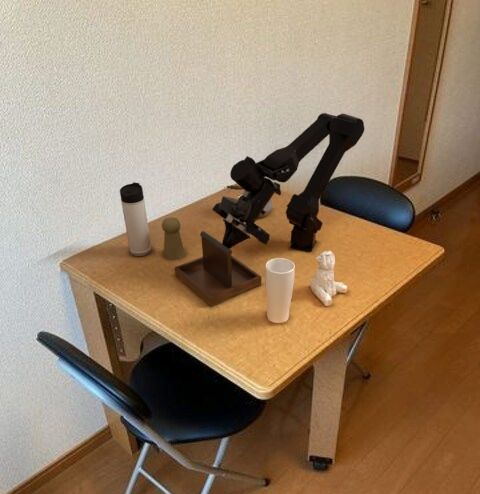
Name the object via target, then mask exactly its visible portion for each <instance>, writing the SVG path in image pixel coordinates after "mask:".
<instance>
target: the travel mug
mask: <svg viewBox="0 0 480 494" xmlns="http://www.w3.org/2000/svg"><path fill="white" fill-rule="evenodd" d="M119 196H120V201H121V207H122V214H123V219H124V225H125V231H126V236H127V243H128V247H129V253H130V254H131V255H132V256H134V257H145V256H147V255H149V254H151V252H152V244H151V243H152V242H151V237H150V230H149V229H150V228H149V223H148V215H147V208H146V201H145V195H144V189H143V186H142V185H141V184H140V182H134V181H133V182H132V183H128V184H125V185H123V186H121V188H120V189H119Z"/></svg>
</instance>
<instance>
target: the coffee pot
mask: <svg viewBox="0 0 480 494" xmlns="http://www.w3.org/2000/svg"><path fill="white" fill-rule="evenodd" d="M264 178H267V177H264ZM225 188H227V189H228V190H229V191H228V192H227V191H226V194H228V193H230V192H231V190H235V191H241V190H244V189H243V188H242V187H240V186H239V185H233V184H230V185H226V186H224V187H223V190H225ZM247 193H248V192H247V191H245V190H244V191H243V192H242V195H243V196H246V195H247ZM273 209H274V204H273V200H272V198H271V199H270V200H269V202H268V203H267V205H266V206H265V208H264V209H263V210H264V211H265V214H264V215H262V214H260V215H259V217H258V218H257V220H259V219H262V218H265V217H266V216H267V215H269V213H271V212H272V210H273Z"/></svg>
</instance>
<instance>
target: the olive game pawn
mask: <svg viewBox="0 0 480 494" xmlns="http://www.w3.org/2000/svg"><path fill="white" fill-rule="evenodd" d="M161 222H162V223H161V229H162V231H163V232H164V233H163V234H164V235H163V236H164V239H163V240H164V242H163V256H164V258H166V259H168V260H178V259H181V258H182V257H184V256H185V249H184V245H183V241H182V237H181V232H180V229H181V221H180V220H179V219H178V218H176V217H167V218H164V219H163V220H162V221H161Z"/></svg>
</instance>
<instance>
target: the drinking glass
mask: <svg viewBox="0 0 480 494" xmlns="http://www.w3.org/2000/svg"><path fill="white" fill-rule="evenodd" d="M295 278H296V264H295V263H294V262H293V260H290V259H288V258H284V257H275V258H272V259H269V260H268V261H267V262H266V263H265V269H264V286H265V300H266V318H267V319H268V321H270V322H271V323H273V324H284V323H286V322H287V321H288V320H289V319H290V309H291V303H292V297H293V292H294V285H295Z"/></svg>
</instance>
